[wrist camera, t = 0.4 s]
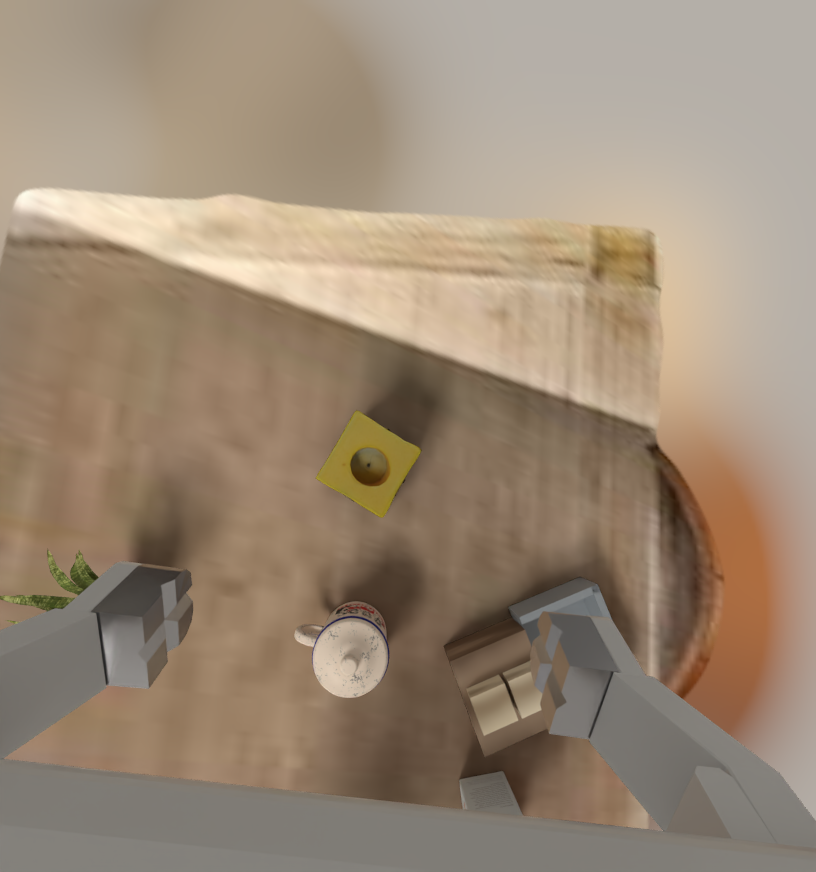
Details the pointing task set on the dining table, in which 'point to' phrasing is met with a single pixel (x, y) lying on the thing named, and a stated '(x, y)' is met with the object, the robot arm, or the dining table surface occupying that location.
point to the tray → (560, 604)
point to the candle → (368, 464)
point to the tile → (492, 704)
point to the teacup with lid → (348, 649)
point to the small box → (489, 794)
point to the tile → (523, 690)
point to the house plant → (78, 574)
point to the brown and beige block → (485, 660)
